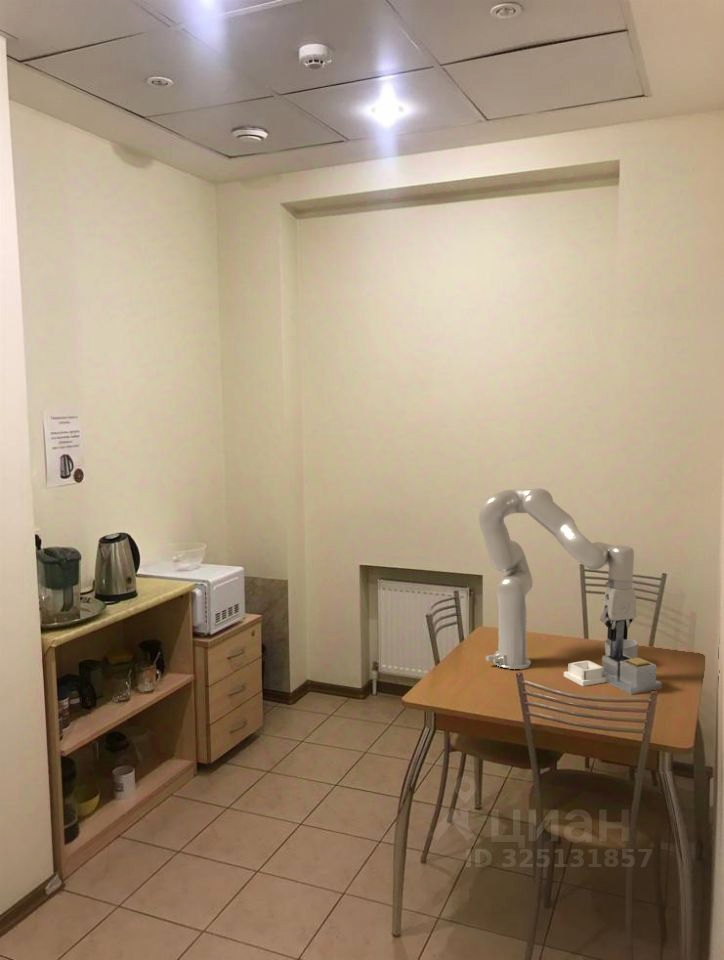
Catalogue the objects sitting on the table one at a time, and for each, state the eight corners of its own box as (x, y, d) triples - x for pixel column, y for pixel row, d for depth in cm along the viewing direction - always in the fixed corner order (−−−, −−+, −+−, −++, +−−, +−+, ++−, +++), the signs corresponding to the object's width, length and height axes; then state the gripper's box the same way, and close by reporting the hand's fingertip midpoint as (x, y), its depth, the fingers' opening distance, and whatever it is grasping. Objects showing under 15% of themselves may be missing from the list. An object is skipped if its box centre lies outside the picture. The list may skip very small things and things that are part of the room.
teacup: (641, 668, 262) (642, 645, 261) (610, 669, 262) (610, 646, 261) (627, 655, 276) (628, 633, 275) (597, 655, 276) (597, 634, 275)
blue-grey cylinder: (615, 658, 250) (617, 613, 248) (607, 654, 254) (609, 610, 252) (625, 657, 251) (627, 612, 250) (617, 653, 255) (619, 609, 253)
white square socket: (582, 686, 246) (583, 672, 246) (563, 676, 256) (563, 662, 255) (608, 681, 250) (608, 668, 250) (588, 672, 259) (588, 658, 259)
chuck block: (630, 694, 239) (631, 669, 238) (594, 676, 255) (594, 652, 254) (661, 688, 243) (662, 664, 242) (623, 671, 259) (624, 648, 259)
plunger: (637, 682, 242) (637, 663, 241) (627, 677, 246) (627, 659, 245) (648, 680, 243) (648, 661, 243) (638, 675, 247) (638, 657, 247)
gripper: (606, 588, 243) (603, 645, 245) (648, 584, 249) (645, 640, 251) (591, 583, 250) (588, 638, 252) (632, 579, 256) (629, 633, 258)
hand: (617, 638), depth 252 cm, fingers closed on blue-grey cylinder, 4 cm apart
